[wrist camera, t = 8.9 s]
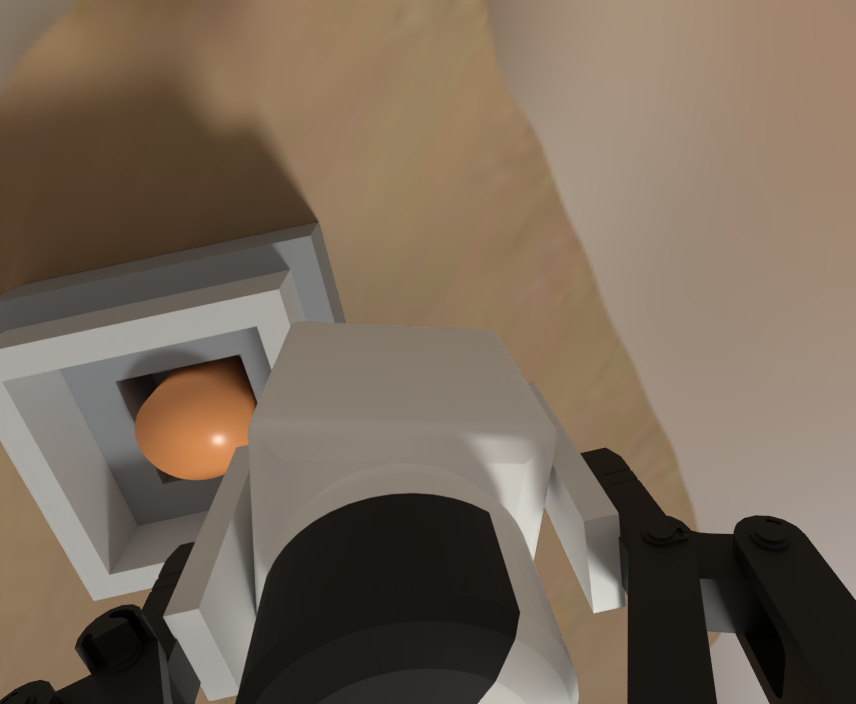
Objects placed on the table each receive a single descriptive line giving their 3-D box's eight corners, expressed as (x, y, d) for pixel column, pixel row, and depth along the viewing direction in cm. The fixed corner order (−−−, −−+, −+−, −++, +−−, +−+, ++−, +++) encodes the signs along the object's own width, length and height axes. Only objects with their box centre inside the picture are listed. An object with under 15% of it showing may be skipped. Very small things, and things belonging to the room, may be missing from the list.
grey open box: (140, 521, 39) (79, 626, 31) (22, 284, 32) (-100, 335, 24) (384, 467, 39) (388, 555, 31) (318, 221, 32) (301, 250, 24)
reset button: (187, 442, 36) (159, 490, 31) (152, 361, 33) (116, 399, 28) (276, 423, 36) (262, 467, 31) (248, 340, 33) (228, 374, 29)
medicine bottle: (292, 493, 21) (201, 907, 10) (290, 317, 18) (160, 609, 7) (474, 494, 22) (583, 877, 10) (497, 327, 19) (674, 600, 8)
